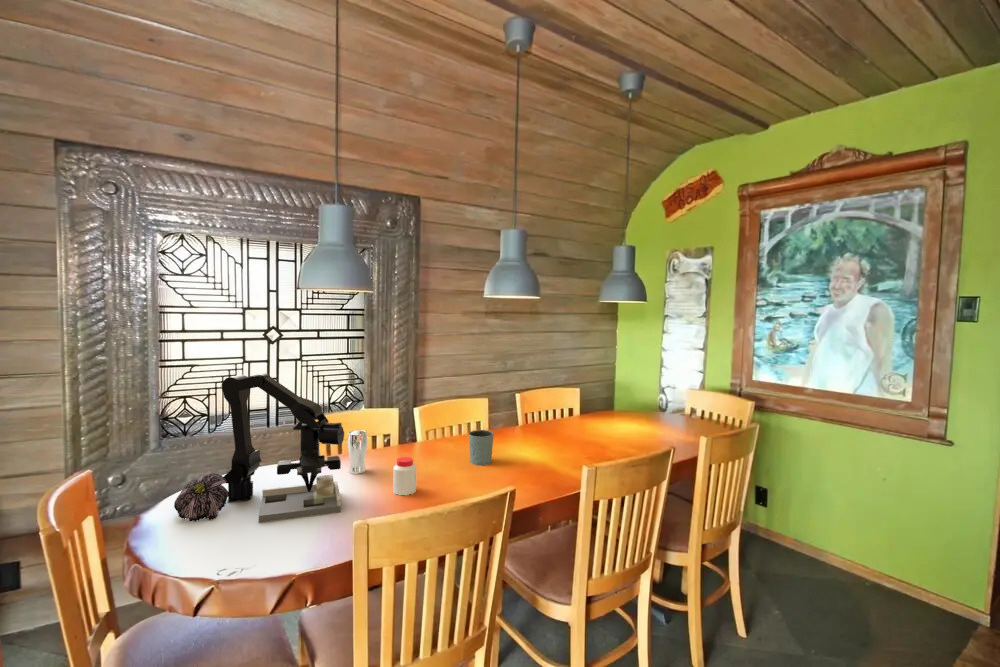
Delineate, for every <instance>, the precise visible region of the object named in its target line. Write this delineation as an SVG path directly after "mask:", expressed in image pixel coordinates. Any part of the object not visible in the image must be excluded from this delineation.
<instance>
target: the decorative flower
mask: <svg viewBox="0 0 1000 667" xmlns="http://www.w3.org/2000/svg"><path fill="white" fill-rule="evenodd" d="M226 482H227V480H226V479H225V478H224V476H223V475H221V474H219V473H207V474H203V475H201V476H200V477H197V478H195V479H192V480H190V481H189V482H187V483H186V484H185V485H184V486H183V488H182V489H181V491H180V493H179V495H177V497H176V499H175V501H174V505H173V507H174V510H175V511H176V513H177V514H178V515H177V516H178V517H179V518H180V519H182V518H184V519H183V520H187V519H188V521H189V523H191V522H194V523H196V522H197V521H198V522H200V520H203V519H207V520H208V521H212V520H215V519H216V518H217V517H218V514H219V512H221V511H222V509H223V508H224V507H226V506H225V505H226V504H227V500H228V496H229V492H228V488H226V487H225V486H224V485H223V484H227V483H226ZM185 518H186V519H185ZM214 518H215V519H214ZM211 519H212V520H211Z"/></svg>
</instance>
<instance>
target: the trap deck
mask: <svg viewBox="0 0 1000 667" xmlns="http://www.w3.org/2000/svg"><path fill="white" fill-rule="evenodd" d="M338 483H339V482H338V480H337V481H333V495H327V496H319V497H317V492H316V483H313V485H312V488H311V491H310V492H308V490H307V487H306V484H300V485H292V486H291V485H289V486H282V487H271V488H263V489H262V496H261V497H262V498H261V502H260V506H259V508H260V509H259V512H258V523H259V524H260V523H267V522H269V523H270V522H275V521H282V520H283V521H284V520H290V519H299V518H305V517H314V516H321V515H328V514H337V513H341V511H342V503H341V502H342V500H341V494H340V489H339V484H338Z"/></svg>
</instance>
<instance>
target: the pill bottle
mask: <svg viewBox="0 0 1000 667" xmlns="http://www.w3.org/2000/svg"><path fill="white" fill-rule="evenodd" d="M392 471H393V472H392V474H393V475H392V493H393V494H394V493H395V494H394V495H396V494H398V495H397V496H401V495H405V496H410V495H409V494H411V495H413V494H415V493H416V491H417V465H416V464H415V463H414V459H413V458H412V457H410V456H401V457H398V458H397V459H396V464H395V465H394V466H393V468H392ZM414 492H415V493H414Z"/></svg>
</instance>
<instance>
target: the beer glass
mask: <svg viewBox="0 0 1000 667" xmlns="http://www.w3.org/2000/svg"><path fill="white" fill-rule="evenodd" d="M367 435H368V434H367V431H366V430H364V429H363V430H362V429H355V430H350V431H348V436H347V450H348V456H349V468H348V473H350V474H351V475H360V474H363V473H365V472H366V462H365V461H366V455H367V448H368V436H367Z"/></svg>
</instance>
